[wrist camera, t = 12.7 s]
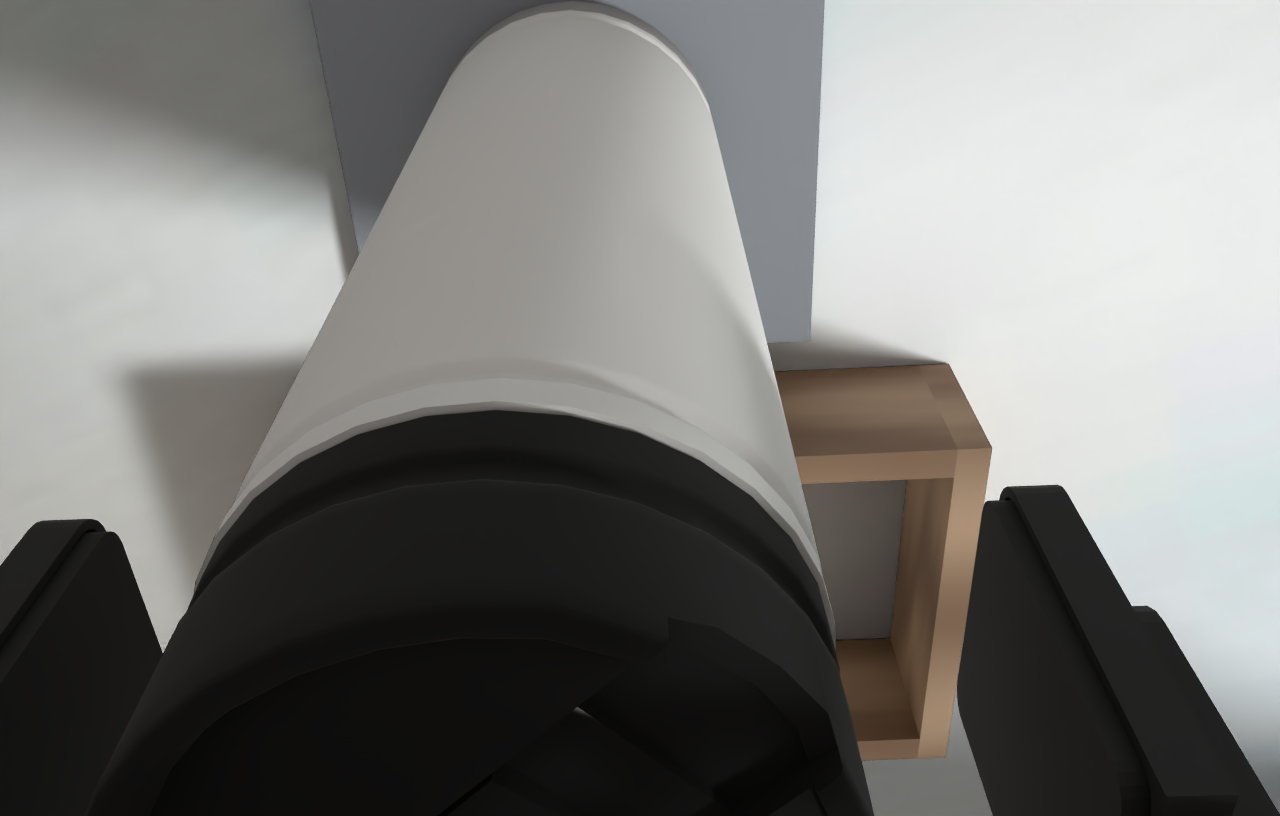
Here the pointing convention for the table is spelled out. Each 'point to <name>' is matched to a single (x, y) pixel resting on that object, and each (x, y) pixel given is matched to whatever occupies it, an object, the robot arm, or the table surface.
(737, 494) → the travel mug
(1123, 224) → the table surface
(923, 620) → the wooden tray
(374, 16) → the slate mat
